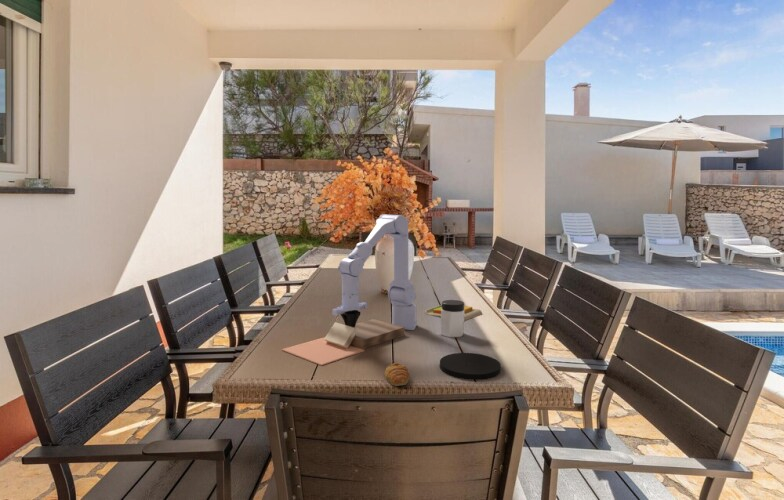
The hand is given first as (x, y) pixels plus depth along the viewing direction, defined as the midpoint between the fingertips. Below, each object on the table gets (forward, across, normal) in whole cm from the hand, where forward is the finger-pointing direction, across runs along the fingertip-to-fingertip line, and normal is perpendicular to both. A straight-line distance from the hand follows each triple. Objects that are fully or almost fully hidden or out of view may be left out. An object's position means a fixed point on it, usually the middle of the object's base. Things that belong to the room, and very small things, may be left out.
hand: (350, 332), depth 163 cm
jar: (+4, +33, -20) cm, 38 cm away
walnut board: (+4, +8, 0) cm, 9 cm away
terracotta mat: (+4, -12, 0) cm, 13 cm away
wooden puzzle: (+4, +58, -3) cm, 58 cm away
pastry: (+4, -13, -33) cm, 36 cm away
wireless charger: (+4, +8, -43) cm, 44 cm away
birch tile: (+1, -4, 0) cm, 4 cm away
